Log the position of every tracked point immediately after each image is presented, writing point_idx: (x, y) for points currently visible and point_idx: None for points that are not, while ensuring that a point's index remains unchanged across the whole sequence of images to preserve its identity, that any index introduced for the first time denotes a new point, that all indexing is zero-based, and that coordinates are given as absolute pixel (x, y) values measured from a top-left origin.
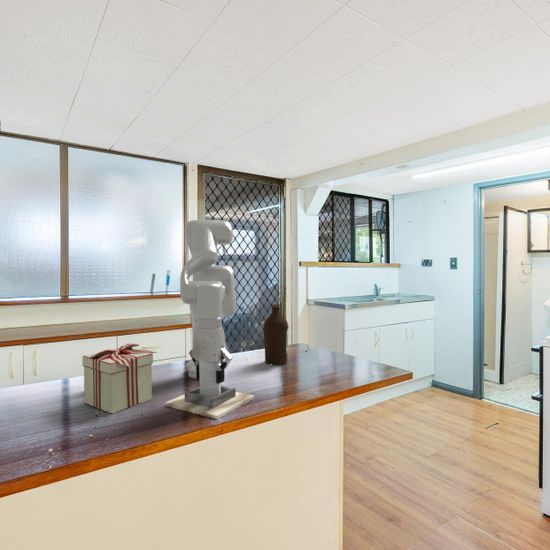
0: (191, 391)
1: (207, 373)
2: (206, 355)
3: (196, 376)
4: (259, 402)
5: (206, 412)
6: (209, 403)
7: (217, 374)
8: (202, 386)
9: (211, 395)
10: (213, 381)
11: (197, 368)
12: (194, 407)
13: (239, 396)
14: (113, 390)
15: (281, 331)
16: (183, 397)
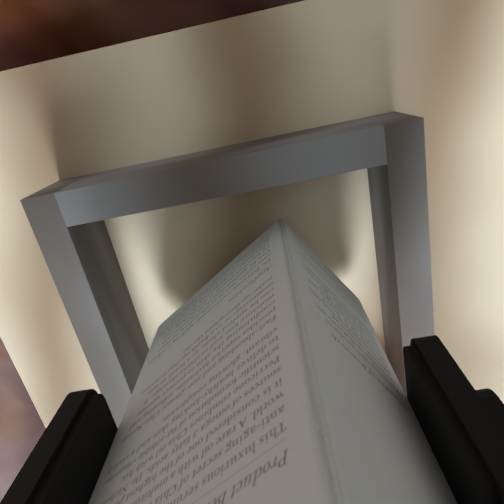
0: (402, 207)
1: (196, 446)
2: None
3: (450, 357)
4: (13, 464)
5: (11, 79)
6: (80, 179)
7: (7, 496)
8: (262, 281)
9: (200, 294)
10: (159, 400)
11: (490, 471)
12: (193, 78)
13: None
14: None
15: None
16: (483, 166)
